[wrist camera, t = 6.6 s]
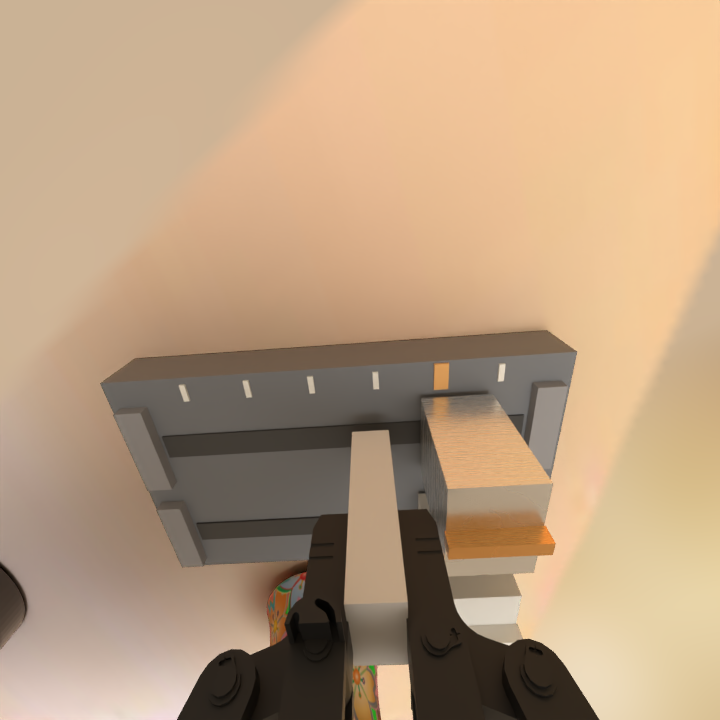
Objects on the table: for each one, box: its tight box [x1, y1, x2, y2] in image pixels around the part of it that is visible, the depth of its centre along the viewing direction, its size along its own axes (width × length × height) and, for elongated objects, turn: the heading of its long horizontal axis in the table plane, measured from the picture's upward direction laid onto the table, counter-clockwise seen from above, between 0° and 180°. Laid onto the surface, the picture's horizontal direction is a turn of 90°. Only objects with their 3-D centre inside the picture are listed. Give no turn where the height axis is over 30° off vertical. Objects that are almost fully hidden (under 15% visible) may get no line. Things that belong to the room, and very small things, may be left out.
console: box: [100, 331, 577, 645], centre depth 15 cm, size 20×12×8 cm, turn 94°
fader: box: [421, 394, 555, 577], centre depth 13 cm, size 3×4×6 cm
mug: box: [267, 572, 381, 720], centre depth 21 cm, size 12×9×11 cm
